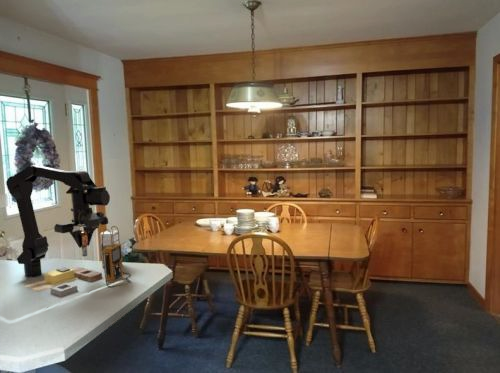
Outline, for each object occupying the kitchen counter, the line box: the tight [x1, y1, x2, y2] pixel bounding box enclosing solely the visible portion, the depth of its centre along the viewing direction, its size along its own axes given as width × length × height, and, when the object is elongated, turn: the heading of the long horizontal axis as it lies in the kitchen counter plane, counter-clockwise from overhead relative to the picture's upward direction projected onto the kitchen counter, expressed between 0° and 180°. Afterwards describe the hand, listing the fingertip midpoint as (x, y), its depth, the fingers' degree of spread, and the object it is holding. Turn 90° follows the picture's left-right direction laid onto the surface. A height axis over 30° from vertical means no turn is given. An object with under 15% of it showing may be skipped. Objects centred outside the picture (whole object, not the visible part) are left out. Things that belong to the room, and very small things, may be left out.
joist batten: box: [71, 266, 103, 282], centre depth 147 cm, size 15×5×2 cm, turn 56°
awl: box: [81, 230, 88, 257], centre depth 145 cm, size 3×3×9 cm
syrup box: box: [99, 230, 120, 268], centre depth 161 cm, size 6×6×14 cm
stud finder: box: [44, 266, 75, 284], centre depth 144 cm, size 6×8×4 cm
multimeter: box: [102, 225, 132, 288], centre depth 143 cm, size 15×10×20 cm
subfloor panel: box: [24, 277, 79, 292], centre depth 142 cm, size 10×15×1 cm, turn 146°
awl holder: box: [49, 282, 79, 297], centre depth 132 cm, size 6×6×2 cm
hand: (84, 246), depth 145 cm, fingers closed on awl, 3 cm apart
